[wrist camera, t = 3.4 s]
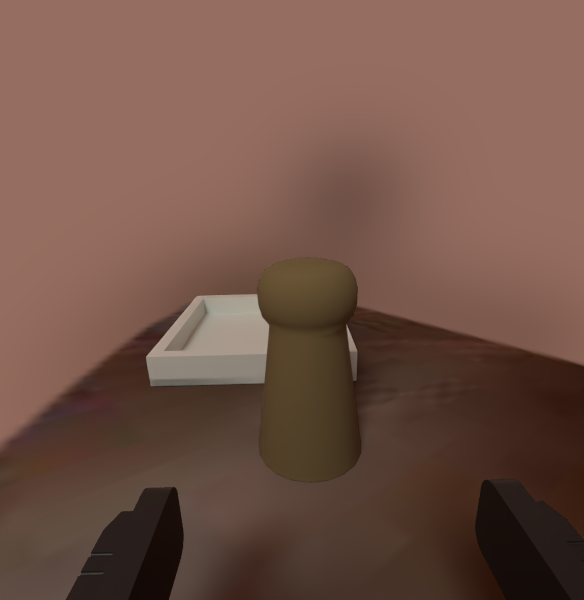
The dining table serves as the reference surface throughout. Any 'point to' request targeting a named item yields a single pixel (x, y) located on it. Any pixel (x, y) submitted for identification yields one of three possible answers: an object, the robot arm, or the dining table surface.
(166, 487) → the robot arm
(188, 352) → the serving tray
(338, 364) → the cork
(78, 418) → the dining table surface
